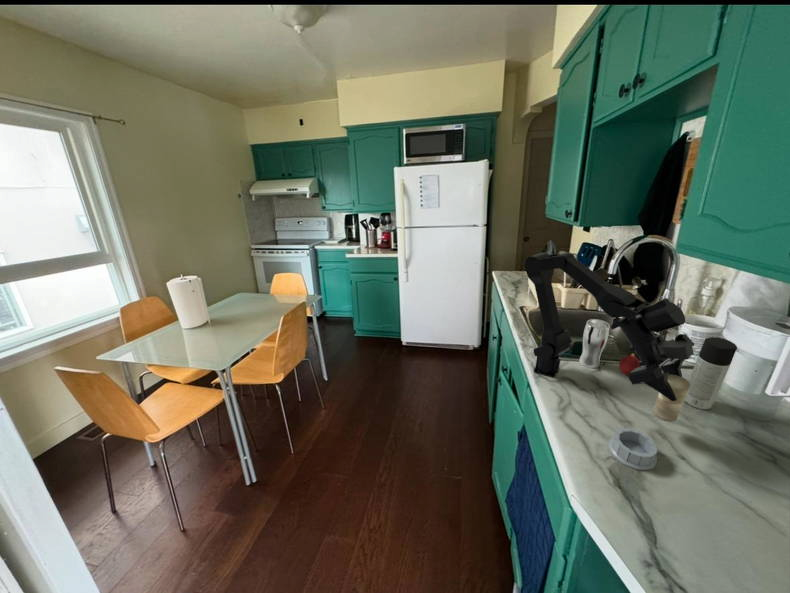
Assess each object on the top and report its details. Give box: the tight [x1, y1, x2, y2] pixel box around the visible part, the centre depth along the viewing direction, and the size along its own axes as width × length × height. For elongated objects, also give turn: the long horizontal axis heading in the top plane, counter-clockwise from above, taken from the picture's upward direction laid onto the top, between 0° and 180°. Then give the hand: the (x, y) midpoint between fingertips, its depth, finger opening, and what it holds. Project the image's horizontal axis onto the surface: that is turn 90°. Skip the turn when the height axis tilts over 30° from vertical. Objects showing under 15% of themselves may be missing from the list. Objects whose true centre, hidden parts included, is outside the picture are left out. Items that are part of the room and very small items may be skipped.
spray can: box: [684, 336, 738, 410], centre depth 98 cm, size 7×7×20 cm
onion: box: [618, 353, 642, 377], centre depth 112 cm, size 6×6×8 cm
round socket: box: [607, 427, 658, 471], centre depth 86 cm, size 10×10×4 cm
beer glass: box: [579, 318, 611, 369], centre depth 117 cm, size 7×7×15 cm
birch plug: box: [652, 375, 690, 423], centre depth 88 cm, size 5×5×10 cm
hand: (679, 396), depth 86 cm, fingers closed on birch plug, 5 cm apart
